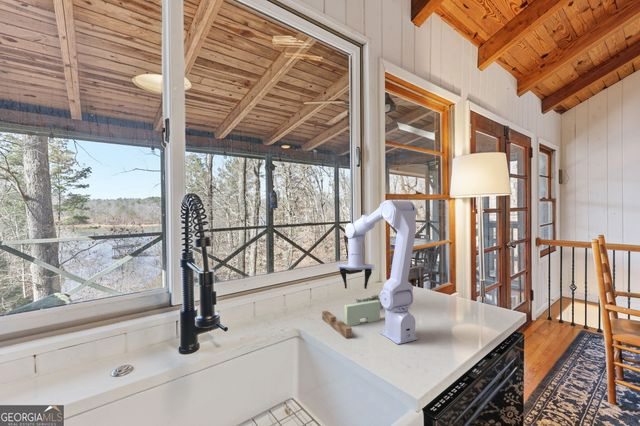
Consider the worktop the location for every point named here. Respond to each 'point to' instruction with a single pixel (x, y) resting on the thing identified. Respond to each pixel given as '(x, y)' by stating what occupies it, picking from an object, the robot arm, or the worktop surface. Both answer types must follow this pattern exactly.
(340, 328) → the walnut board
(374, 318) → the long pale green beam
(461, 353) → the worktop surface
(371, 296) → the egg carton
